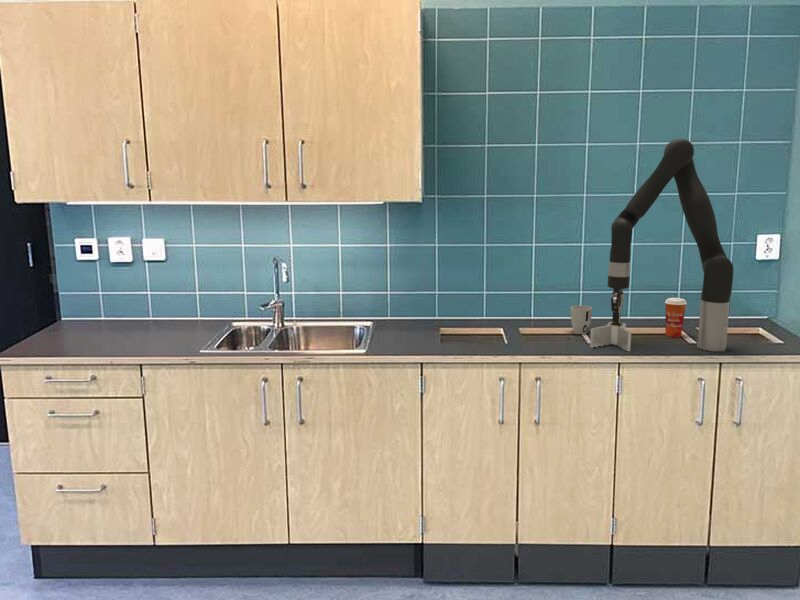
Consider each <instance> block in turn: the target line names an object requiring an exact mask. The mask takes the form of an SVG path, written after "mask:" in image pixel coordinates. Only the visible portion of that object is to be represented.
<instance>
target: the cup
mask: <svg viewBox="0 0 800 600" xmlns="http://www.w3.org/2000/svg"><path fill="white" fill-rule="evenodd" d="M592 314H593V307H592V306H589V305H583V304H582V305H581V304H579V305H572V306H570V321H571V326H572V327H571V328H572V332H573V333H574V334H577V335H586V334H585V333H587V334H588V332H589V329H590V327H591V322H592V317H593V315H592Z"/></svg>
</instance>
